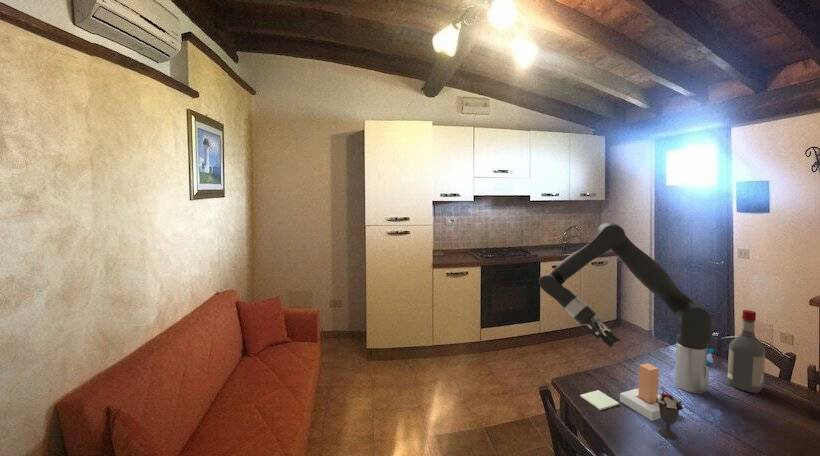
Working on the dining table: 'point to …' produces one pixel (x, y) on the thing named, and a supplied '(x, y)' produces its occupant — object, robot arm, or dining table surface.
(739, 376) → the liquor
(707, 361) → the gear
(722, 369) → the dining table surface
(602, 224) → the robot arm
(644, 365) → the peg
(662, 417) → the sundae
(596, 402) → the pad
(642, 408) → the socket block
